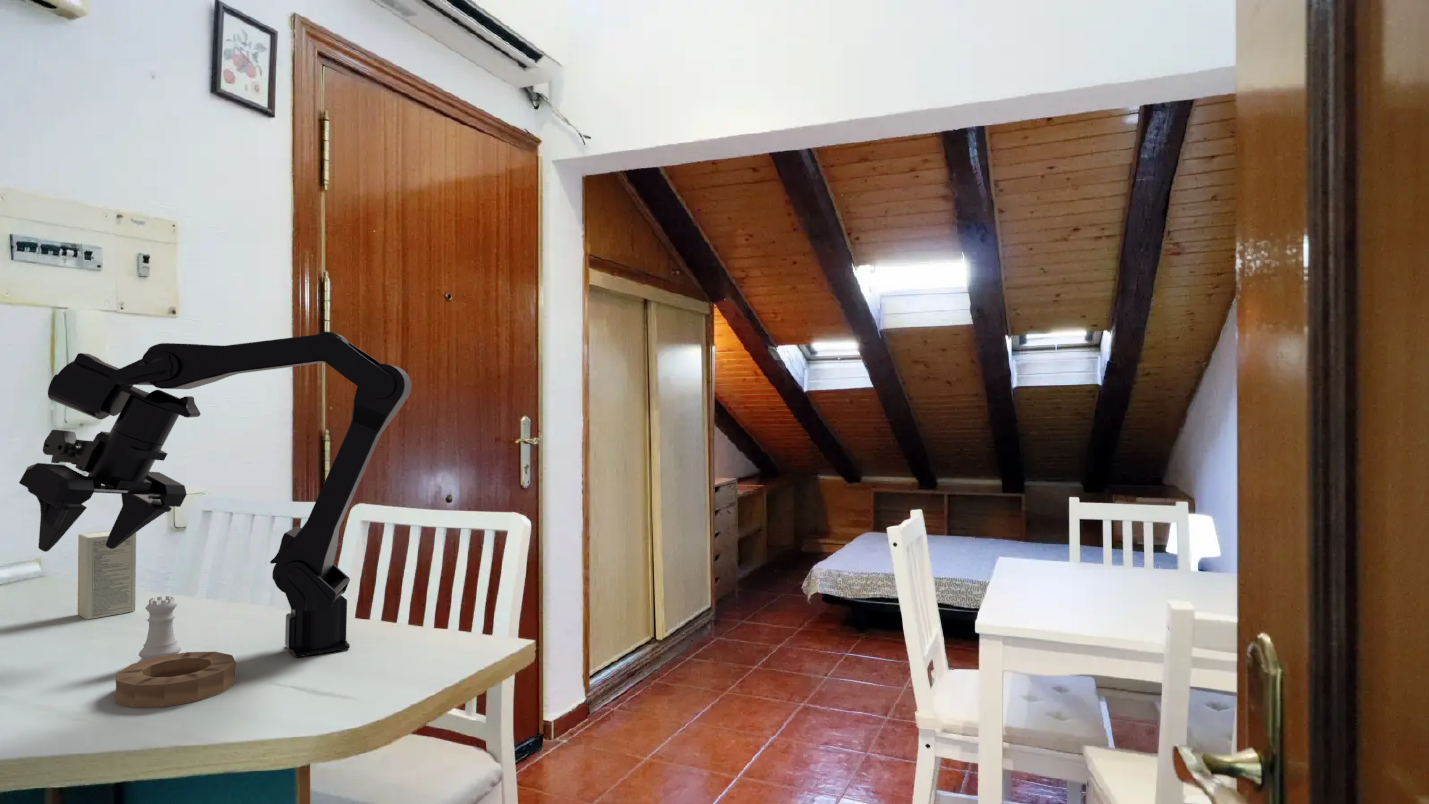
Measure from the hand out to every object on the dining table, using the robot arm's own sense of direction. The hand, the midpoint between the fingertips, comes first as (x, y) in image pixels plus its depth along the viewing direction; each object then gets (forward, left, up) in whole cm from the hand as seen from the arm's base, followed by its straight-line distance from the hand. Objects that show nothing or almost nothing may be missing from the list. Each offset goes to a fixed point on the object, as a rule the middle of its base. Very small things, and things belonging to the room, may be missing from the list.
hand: (77, 548), depth 98 cm
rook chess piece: (-8, +8, -14) cm, 18 cm away
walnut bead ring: (-9, +19, -14) cm, 25 cm away
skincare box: (-3, -22, -14) cm, 26 cm away
